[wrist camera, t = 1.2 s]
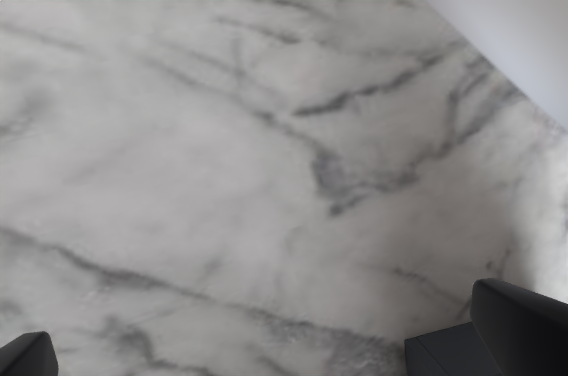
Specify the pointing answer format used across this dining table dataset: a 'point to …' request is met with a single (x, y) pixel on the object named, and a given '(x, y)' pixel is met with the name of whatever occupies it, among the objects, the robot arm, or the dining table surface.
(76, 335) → the dining table surface
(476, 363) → the cup holder
